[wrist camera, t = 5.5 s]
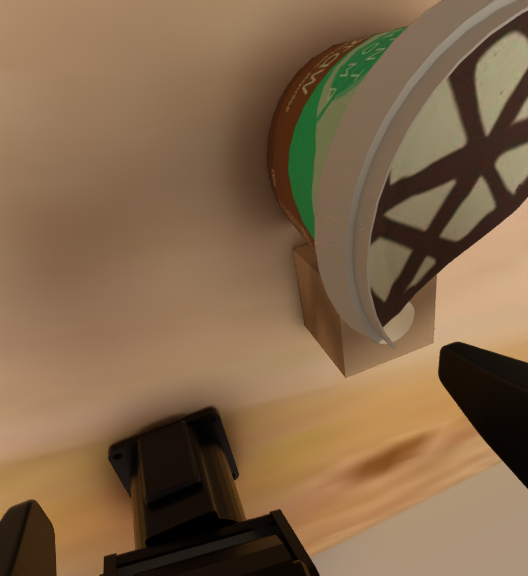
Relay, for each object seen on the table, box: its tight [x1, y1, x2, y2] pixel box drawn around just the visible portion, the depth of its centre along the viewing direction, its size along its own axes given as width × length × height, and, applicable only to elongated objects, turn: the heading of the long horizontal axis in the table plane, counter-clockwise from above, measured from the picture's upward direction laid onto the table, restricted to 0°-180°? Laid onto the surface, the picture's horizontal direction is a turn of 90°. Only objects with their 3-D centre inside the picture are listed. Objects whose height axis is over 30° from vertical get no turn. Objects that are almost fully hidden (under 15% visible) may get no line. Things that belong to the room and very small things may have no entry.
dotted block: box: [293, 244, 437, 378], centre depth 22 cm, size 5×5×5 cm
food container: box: [267, 0, 528, 350], centre depth 15 cm, size 12×6×10 cm, turn 133°
